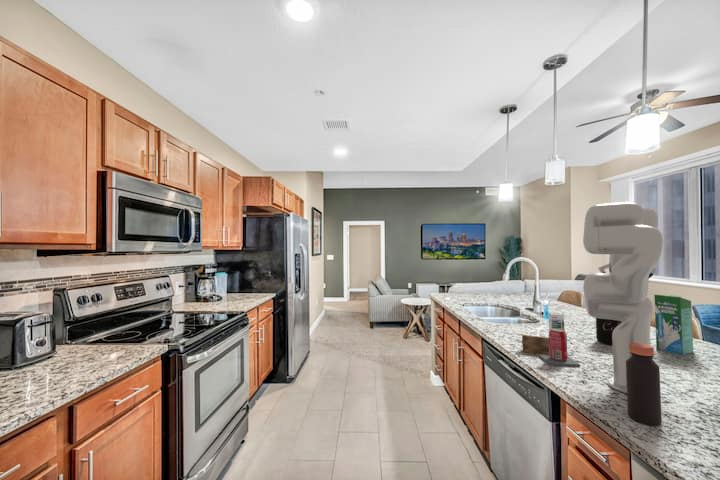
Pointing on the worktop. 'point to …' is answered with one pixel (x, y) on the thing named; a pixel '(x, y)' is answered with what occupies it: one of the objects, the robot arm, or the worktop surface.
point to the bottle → (643, 385)
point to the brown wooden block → (535, 344)
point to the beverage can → (558, 344)
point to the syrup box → (556, 320)
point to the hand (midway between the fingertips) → (627, 289)
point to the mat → (554, 362)
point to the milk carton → (673, 324)
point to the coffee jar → (605, 330)
